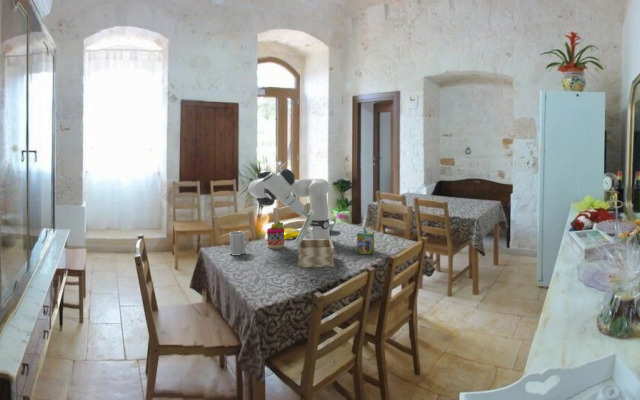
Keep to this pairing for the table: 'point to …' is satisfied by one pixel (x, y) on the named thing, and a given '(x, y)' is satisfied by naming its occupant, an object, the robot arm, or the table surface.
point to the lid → (304, 228)
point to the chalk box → (365, 242)
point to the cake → (276, 236)
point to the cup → (238, 242)
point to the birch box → (316, 253)
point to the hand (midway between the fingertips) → (308, 216)
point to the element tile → (290, 233)
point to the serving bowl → (331, 225)
